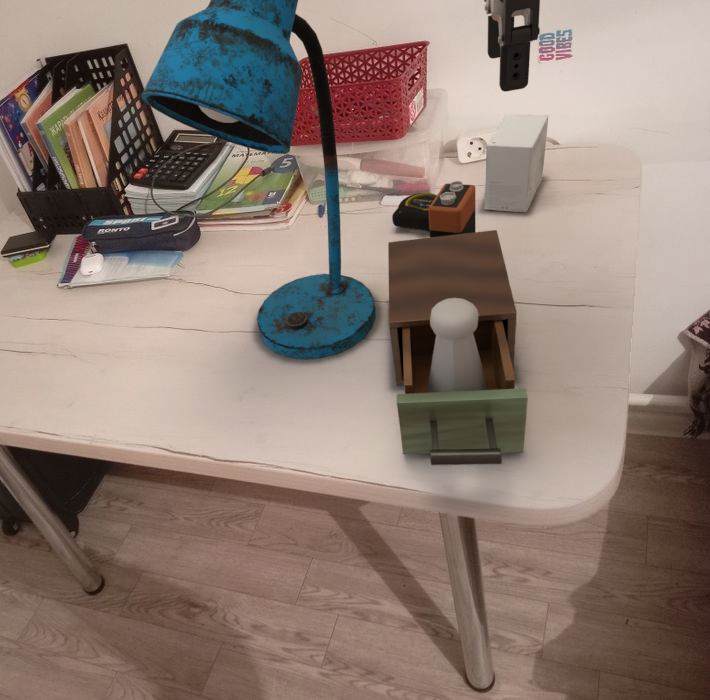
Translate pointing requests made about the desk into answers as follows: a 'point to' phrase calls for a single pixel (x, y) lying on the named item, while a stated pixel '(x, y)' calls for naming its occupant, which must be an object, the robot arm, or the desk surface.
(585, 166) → the desk surface
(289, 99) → the desk lamp
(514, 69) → the robot arm
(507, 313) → the cabinet
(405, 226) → the tape measure
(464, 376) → the salt shaker
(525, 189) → the cosmetics box
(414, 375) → the drawer
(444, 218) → the battery
